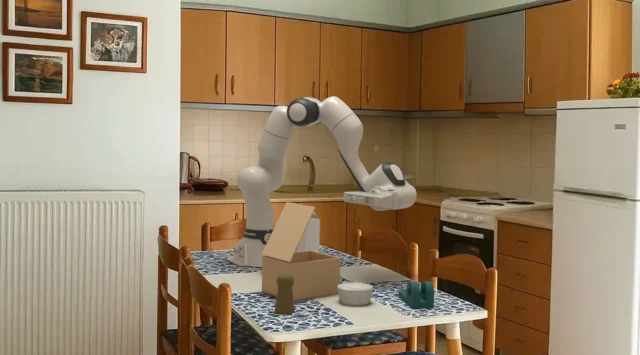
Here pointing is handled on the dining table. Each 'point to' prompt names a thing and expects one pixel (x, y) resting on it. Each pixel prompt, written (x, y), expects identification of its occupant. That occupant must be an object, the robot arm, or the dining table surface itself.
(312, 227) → the milk carton
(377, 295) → the dining table surface
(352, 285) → the ramekin
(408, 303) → the bracket
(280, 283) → the olive pepper mill
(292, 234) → the carton flap
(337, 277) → the kraft carton
